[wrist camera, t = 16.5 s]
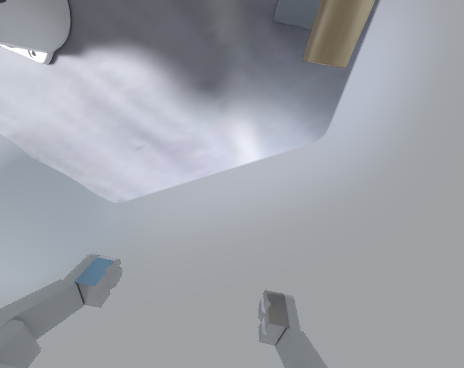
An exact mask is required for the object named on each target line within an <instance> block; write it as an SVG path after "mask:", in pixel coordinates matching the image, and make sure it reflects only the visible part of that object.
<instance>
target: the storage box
mask: <svg viewBox="0 0 464 368" xmlns="http://www.w3.org/2000/svg"><path fill="white" fill-rule="evenodd" d="M320 3H321V0H278V3H277V7H276V11H275V16H274V20H273V22H278V23H283V24H288V25H292V26H297V27H302V28H307V29H311V30H312V28H313V25H314V22H315V19H316V16H317V12H318V9H319V6H320Z"/></svg>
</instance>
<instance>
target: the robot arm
mask: <svg viewBox="0 0 464 368" xmlns="http://www.w3.org/2000/svg"><path fill="white" fill-rule="evenodd" d="M69 30H70V10H69V5H68V1H67V0H0V46H1V47H4V48H6V49H8V50H11V51H13V52H15V53H18V54H20V55H23V56H25V57H27V58H30V59H32V60H34V61H37V62H39V63H43V64H49V63H50V61H51V59H52V56H53V53H54V52H55V51H56V50H57V49H58V48H60V47H61V46H62V45H63V44H64V43H65V41H66V39H67V37H68V34H69ZM35 53H36V54H35ZM120 264H121V261H120V259H117V258H112V257H107V256H103V255H99V254H94V253H91V254H89V255H87V256H86V257H85V258H84V259H83V260H82V261H81V262H80V264H78V265H77V266H76V267H75V269H73V270H72V271H71V273H69V274H68V276H67V277H65V278H64V280H58V281H56V282H54V283H52V284H50V285H48V286H46V287H44V288H42V289H40V290H38V291H36V292H34V293H32V294H30V295H27V296H25V297H23V298H21V299H19V300H17V301H15V302H13V303H11V304H9V305H7V306H5V307H3V308H1V309H0V368H28V367H29V365H30V364H31V363H32V362H33V360H34V359H35V358H36V357H37V355H38V354H39V353H40V351H41V347H40V346H39V344H38V343H37V341H36V339H38V338H39V337H41V336H42V335H43V334H45V333H46V332H48V331H49V330H51V329H52V328H53V327H55V326H56V325H58V324H59V323H60V322H62V321H63V320H65V319H66V318H67V317H69V316H70V315H71V314H73V313H75V312H76V311H77V310H79V309H80V308H82V307H83V306H84V305H89V306H94V307H100V308H101V306H102V305H103V304H104V302H105V301H106V299H107V298H108V296H109V295H110V289H112V288H114V287H115V286H116V285H117V283H118V282H119V280H120V278H121V275H122V268H121V267H120V266H119V265H120ZM259 319H260V321H261V323H260V325H259V342H262V343H266V344H270V345H275V347H276V350H277V352H278V354H279V356H280V358H281V360H282V363H283V365H284V367H285V368H327V366H326V364H325V363H324V361H323V360H322V358H321V357H320V356H319V354H318V353H317V351H316V350H315V348H314V347H313V345H312V344H311V342H310V341H309V339H308V338H307V336H306V335H305V333H304V332H302V331H301V330H300V325H299V320H298V316H297V310H296V306H295V300H294V298H293V296H291V295H286V294H283V293H277V292H272V291H267V290H265V291H264V293H263V298H261V300H260V304H259Z"/></svg>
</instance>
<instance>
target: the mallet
mask: <svg viewBox="0 0 464 368" xmlns="http://www.w3.org/2000/svg"><path fill="white" fill-rule="evenodd" d="M374 2H375V0H321V3H320V6H319V9H318V12H317V16H316V19H315V22H314V25H313V28H312V31H311V35H310V38H309V41H308V44H307V47H306V51H305V54H304V57H303V60H302V61H307V62H312V63H317V64H322V65H328V66H333V67H341V68H346V66H347V64H348V62H349V60H350V57H351V55H352V53H353V50H354V48H355V46H356V44H357V41H358V39H359V37H360V34H361V32H362V30H363V28H364V25H365V23H366V21H367V18H368V16H369V14H370V11H371V9H372V7H373V5H374Z"/></svg>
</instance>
